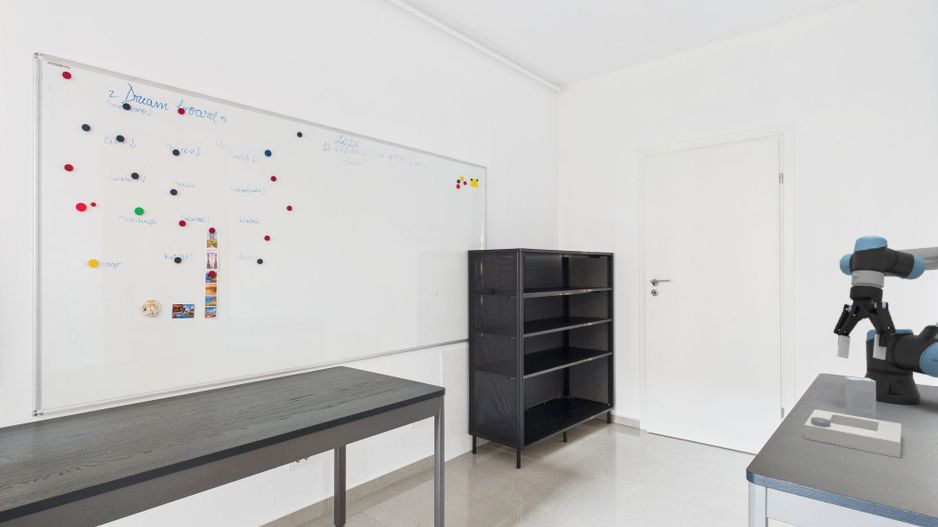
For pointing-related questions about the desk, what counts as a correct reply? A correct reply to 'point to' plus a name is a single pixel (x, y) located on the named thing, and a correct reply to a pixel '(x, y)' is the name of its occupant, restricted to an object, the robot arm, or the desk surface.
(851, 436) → the housing
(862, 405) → the skincare box
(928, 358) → the robot arm
